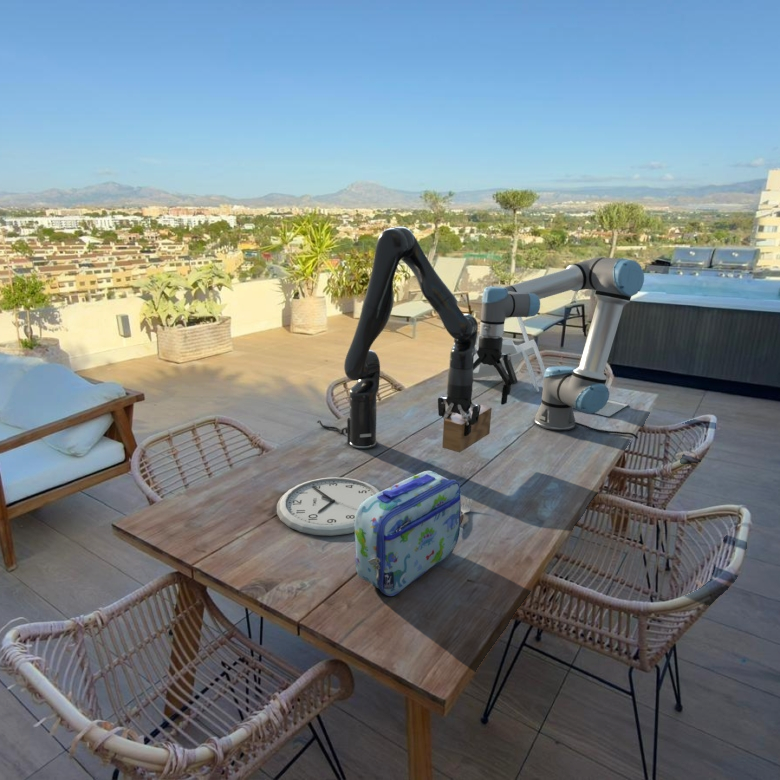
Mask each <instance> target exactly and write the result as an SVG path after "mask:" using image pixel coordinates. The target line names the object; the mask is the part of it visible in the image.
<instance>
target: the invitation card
mask: <svg viewBox="0 0 780 780" xmlns="http://www.w3.org/2000/svg"><path fill="white" fill-rule="evenodd" d="M628 406H629V404H627V403H623V402H618V401H614V400H609V399H608V401H607V403H606V405H605V406H604V407H603V408H602V409H600V410H599V411H598V412H596V413H595V414H596V415H600V416H604V417H608V418H609V417H611V416H613V415H614V414H616V413H617V412H619V411H621V410H623V409H624V408H626V407H628Z"/></svg>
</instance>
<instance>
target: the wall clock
mask: <svg viewBox="0 0 780 780" xmlns="http://www.w3.org/2000/svg"><path fill="white" fill-rule="evenodd" d="M381 491H382V490H380V489H379V488H377V487H376V486H374V485H372V484H371V483H369V482H365V481H362V480H359V479H355V478H349V477H338V476H337V477H335V476H333V477H332V476H331V477H322V478H317V479H312V480H307V481H305V482H302V483H299V484H297V485H295V486H293V487H292V488H290V489H288V490H287V491H286V492H285V493H284V494H283V495H281V496H280V498H279V499H278V502H277V503H276V515H277V517H278V518H279V520H280V521H281V522H282V523H283V524H285V525H286V526H287V527H288V528H290V529H293V530H295V531H297V532H299V533H303V534H308V535H312V536H327V537H328V536H329V537H331V536H332V537H333V536H342V535H350V534H352V533H355V516H356V513H357V510H358V508H359V506H360V505H361V504H362V502H363V501H364V500H366V499H367V498H369V497H371V496H373V495H375V494H377V493H379V492H381Z"/></svg>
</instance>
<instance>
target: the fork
mask: <svg viewBox="0 0 780 780" xmlns="http://www.w3.org/2000/svg"><path fill="white" fill-rule="evenodd" d="M465 498H466V497H464V498H463V501H462V504H461V508H460V512H462V514H460V526H461V525H462V524H463V520H464V515H465V514H467V513H470V512H471V509H472V504H473V500H471V498H469V499H466V500H465ZM470 500H471V501H470Z"/></svg>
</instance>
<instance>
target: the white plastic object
mask: <svg viewBox="0 0 780 780" xmlns="http://www.w3.org/2000/svg"><path fill="white" fill-rule="evenodd" d="M516 319H517V322H518V325H519V328H520V332H521V334H522V337H523V340H524V342H523V343H520V344H515V343H514V340H513V339H512V338H507V339H503V342H502V349H501V352H502V354H508V353H510V355H511V363H512V366H513V367H514V366H515V365H517V364H518V363H520V362H521V361H522V360H523V359H524V363H525V366H526V369H527V372H528V375H529V378H530V381H531V384H532V386H533V387H534V389H535V390H536V392H539V391H540V390H539V389H540V388H539V385H538V382H537V378H536V376H535V372H534V370H533V367H532V363H531V359H530V357H529V356H531V355H534V354H535V357H536V360H537V363H538V366H539V369H540V372H541V374H542V378H543V379H544V374H545V370H546V367H545V364H544V361H543V358H542V356H541V352H540V349H539V347H538V343H537V342H536V340H535V339H529V335H528V332H527V330H526V327H525V324H524V321H523V317H516ZM480 336H481V335H480V334H477V338H476V343H475V348H476V349H478V348H479V346H478V344H479V337H480ZM478 358H479V357H478V355H477V353H476V354H475V355H474V359H473V363H474V362H475V361H476V360H477V359H478ZM500 361H501V363H502V366H503V367H504V369H505V371H506V372H507V370H506V367H505V364H504V361H503V359H502V358H501V359H500ZM487 377H495V378H499V377H501V376H500V374H499V373H498V371H497V369H496V368H495V367H494V366H493V365H488V364H483V363H481V364H480V365H479V366H477V367H476V368H475V369H474V370H473V379H479V378H487Z"/></svg>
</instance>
